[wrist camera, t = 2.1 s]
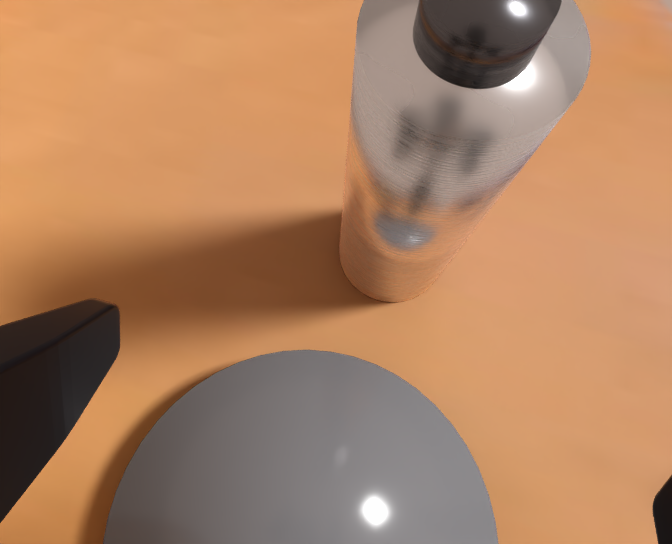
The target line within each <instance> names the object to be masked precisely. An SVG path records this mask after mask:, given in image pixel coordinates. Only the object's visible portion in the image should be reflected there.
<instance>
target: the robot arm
mask: <svg viewBox="0 0 672 544" xmlns="http://www.w3.org/2000/svg"><path fill="white" fill-rule="evenodd" d="M119 348H120V311H119V308H118V306H117V305H116V304H114V303H110V302H107V301H103V300H100V299H95V298H91V299H87V300H84V301H80V302H77V303H74V304H71V305H67V306H64V307H61V308H57V309H54V310H51V311H48V312H44V313H41V314H38V315H34V316H31V317H28V318H25V319H21V320H18V321H15V322H11V323H8V324H5V325H2V326H0V523H1V522H2V520H3V519H4V518H5V516H6V515H7V514H8V513H9V511H10V510H11V509H12V507H13V506H14V505H15V504H16V502H17V501H18V500H19V498H20V497H21V496H22V495H23V493H24V492H25V491H26V489H27V488H28V487H29V486H30V484H31V483H32V482H33V481H34V479H35V478H36V477H37V475H38V474H39V473H40V472H41V470H42V469H43V468H44V466H45V465H46V464H47V463H48V461H49V460H50V459H51V457H52V456H53V455H54V454H55V452H56V451H57V450H58V448H59V447H60V446H61V444H62V443H63V442H64V440H65V439H66V437H67V436H68V434H69V433H70V431H71V430H72V428H73V427H74V425H75V424H76V422H77V421H78V419H79V417H80V416H81V414H82V413H83V411H84V409H85V408H86V406H87V405H88V403H89V401H90V400H91V398H92V396H93V395H94V393H95V392H96V390H97V388H98V387H99V385H100V384H101V382H102V380H103V379H104V377H105V376H106V374H107V372H108V371H109V369H110V368H111V366H112V364H113V363H114V361H115V359H116V357H117V355H118V352H119ZM653 517H654V522H655V528H656V533H657V539H658V544H672V475H671V477H670V478H669V479H668V480H667V482H666V483H665V484H664V486H663V487H662V488H661V489H660V491H659V492H658V493H657V495H656V496H655V499H654V502H653Z"/></svg>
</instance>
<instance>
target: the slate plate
mask: <svg viewBox="0 0 672 544" xmlns="http://www.w3.org/2000/svg"><path fill="white" fill-rule="evenodd" d="M103 544H498V537H497V530H496V522H495V518H494V514H493V510H492V506H491V502H490V498H489V494H488V492H487V489H486V486H485V484H484V481H483V478H482V476H481V473H480V471H479V468H478V466H477V464H476V463H475V461H474V459H473V457H472V455H471V453H470V451H469V449H468V447H467V445H466V444H465V442H464V441H463V440H462V438H461V437H460V435H459V434H458V432H457V431H456V429H455V428H454V426H453V425H452V424H451V423H450V421H449V420H448V419H447V418H446V417H445V416H444V415H443V413H442V412H441V411H440V410H439V409H438V408H437V407H436V405H434V404H433V403H432V402H431V401H430V400H429V399H428V398H427V397H425V396H424V395H423V394H422V393H421V392H420V391H419V390H418V389H416V388H415V387H413V386H412V385H410V384H409V383H407V382H406V381H405V380H403V379H402V378H400V377H399V376H397V375H395V374H393V373H391V372H389V371H388V370H386V369H384V368H382V367H380V366H378V365H376V364H373V363H370V362H367V361H365V360H362V359H359V358H356V357H353V356H348V355H344V354H339V353H334V352H328V351H316V350H294V351H282V352H276V353H271V354H265V355H260V356H257V357H254V358H251V359H248V360H245V361H241V362H238V363H236V364H234V365H232V366H230V367H228V368H225V369H223V370H221V371H219V372H217V373H215V374H214V375H212V376H210V377H209V378H207V379H206V380H204V381H202V382H201V383H199V384H198V385H196V386H195V387H193V388H192V389H191V390H190V391H188V392H187V393H186V394H185V395H184V396H182V397H181V398H180V399H179V400H177V401H176V402H175V403H174V404H173V405H172V406H171V407H170V408H169V409H168V410H167V411H166V412H165V413H164V415H163V416H162V417H161V418H160V419H159V420H158V421H157V422H156V423H155V425H154V426H153V427H152V429H151V430H150V431H149V433H148V434H147V435H146V437H145V438H144V439H143V440H142V442H141V443H140V445H139V447H138V449H137V450H136V452H135V454H134V455H133V457H132V459H131V460H130V462H129V464H128V466H127V468H126V470H125V472H124V475H123V477H122V479H121V481H120V484H119V486H118V488H117V490H116V493H115V497H114V500H113V503H112V506H111V509H110V513H109V516H108V520H107V525H106V530H105V535H104V541H103Z"/></svg>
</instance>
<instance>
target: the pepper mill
mask: <svg viewBox="0 0 672 544" xmlns="http://www.w3.org/2000/svg"><path fill="white" fill-rule="evenodd" d="M590 58H591V47H590V38H589V34H588V30H587V26H586V24H585V21H584V18H583V16H582V14H581V12H580V10H579V9H578V7H577V5H576V3H575V2H574V1H573V0H364V2H363V4H362V7H361V9H360V13H359V17H358V21H357V34H356V46H355V59H354V71H353V84H352V96H351V109H350V121H349V134H348V146H347V159H346V171H345V184H344V196H343V209H342V221H341V234H340V246H339V257H340V262H341V266H342V269H343V271H344V273H345V275H346V277H347V278H348V280H349V281H350V282H351V283H352V284H353V286H354V287H355V288H357V289H358V290H359V291H360V292H362V293H363V294H365V295H367V296H369V297H371V298H373V299H376V300H379V301H384V302H402V301H407V300H410V299H413V298H415V297H417V296H419V295H420V294H422V293H424V292H425V291H426V290H427V289H428V288H429V287H430V286H431V285H432V284H433V283H434V282H435V280H436V279H437V278H438V276H439V275H440V274H441V273H442V271H443V270H444V269H445V267H446V266H447V265H448V263H449V262H450V261H451V260H452V258H453V257H454V256H455V254H456V253H457V252H458V251H459V249H460V248H461V247H462V245H463V244H464V243H465V242H466V240H467V239H468V238H469V236H470V235H471V234H472V232H473V231H474V230H475V229H476V227H477V226H478V225H479V223H480V222H481V221H482V220H483V218H484V217H485V216H486V214H487V213H488V212H489V210H490V209H491V208H492V207H493V205H494V204H495V203H496V201H497V200H498V199H499V198H500V196H501V195H502V194H503V192H504V191H505V190H506V188H507V187H508V186H509V185H510V183H511V182H512V181H513V179H514V178H515V177H516V176H517V174H518V173H519V172H520V170H521V169H522V168H523V167H524V165H525V164H526V163H527V161H528V160H529V159H530V157H531V156H532V155H533V154H534V152H535V151H536V150H537V148H538V147H539V146H540V145H541V143H542V142H543V141H544V139H545V138H546V137H547V135H548V134H549V133H550V132H551V130H552V129H553V128H554V126H555V125H556V124H557V123H558V121H559V120H560V119H561V117H562V116H563V115H564V114H565V112H566V111H567V110H568V108H569V107H570V106H571V104H572V103H573V102H574V101H575V99H576V98H577V96H578V94H579V93H580V91H581V90H582V88H583V85H584V83H585V81H586V78H587V75H588V71H589V67H590Z"/></svg>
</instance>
